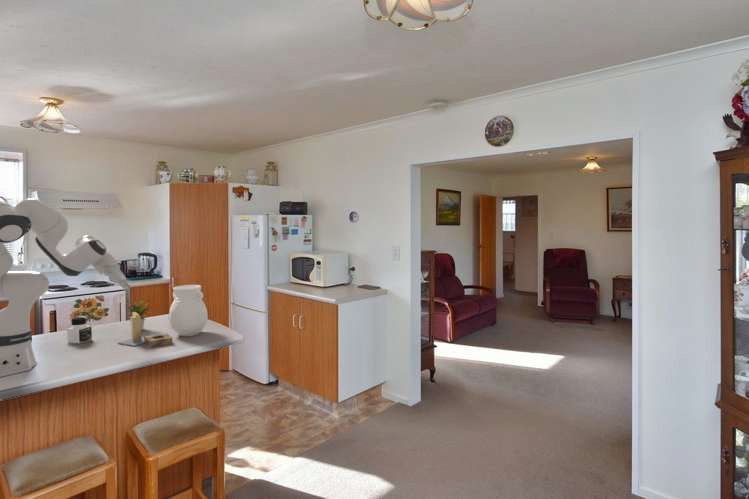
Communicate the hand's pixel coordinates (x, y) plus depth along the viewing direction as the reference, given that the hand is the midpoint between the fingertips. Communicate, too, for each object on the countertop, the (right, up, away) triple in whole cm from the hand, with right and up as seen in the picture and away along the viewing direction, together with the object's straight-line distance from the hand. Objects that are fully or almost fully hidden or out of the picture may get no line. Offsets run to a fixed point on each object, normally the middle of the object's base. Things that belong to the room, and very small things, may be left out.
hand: (128, 288), depth 202 cm
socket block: (+12, -27, +5) cm, 30 cm away
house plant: (-12, -25, +27) cm, 39 cm away
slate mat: (0, -26, +6) cm, 27 cm away
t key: (0, -26, +6) cm, 27 cm away
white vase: (+19, -26, +21) cm, 39 cm away
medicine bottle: (-27, -26, +7) cm, 39 cm away
